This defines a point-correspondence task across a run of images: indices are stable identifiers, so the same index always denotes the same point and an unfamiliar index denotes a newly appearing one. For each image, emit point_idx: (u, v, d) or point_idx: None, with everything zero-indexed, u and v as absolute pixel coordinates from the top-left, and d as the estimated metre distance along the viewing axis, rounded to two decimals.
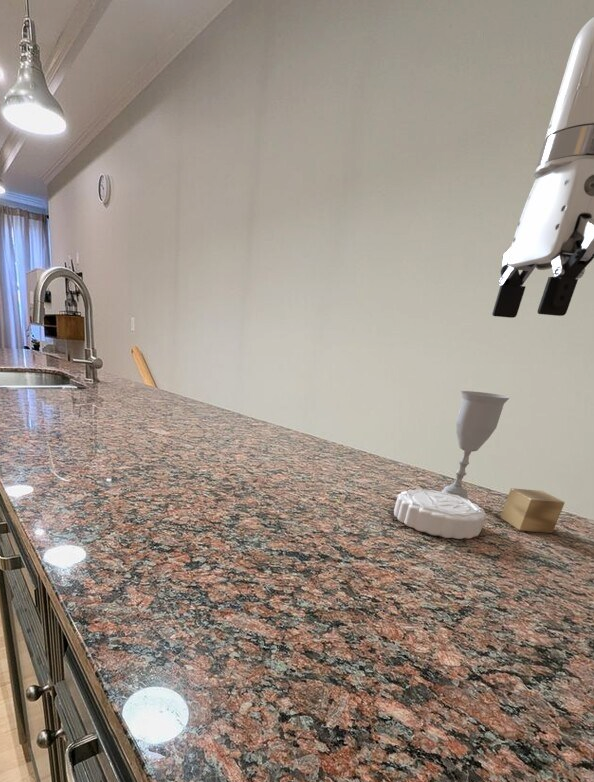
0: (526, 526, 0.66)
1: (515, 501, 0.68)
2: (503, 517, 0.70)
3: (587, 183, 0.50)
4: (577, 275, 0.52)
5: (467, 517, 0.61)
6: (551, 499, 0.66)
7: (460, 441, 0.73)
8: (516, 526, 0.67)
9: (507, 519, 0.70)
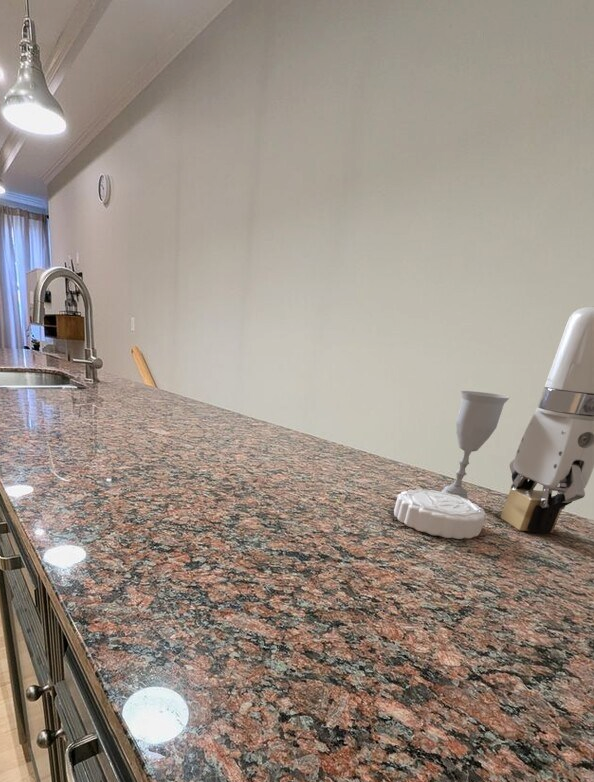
0: (526, 526, 0.66)
1: (515, 501, 0.68)
2: (503, 517, 0.70)
3: (580, 436, 0.60)
4: (558, 509, 0.64)
5: (467, 517, 0.61)
6: None
7: (460, 441, 0.73)
8: (516, 526, 0.67)
9: (507, 519, 0.70)
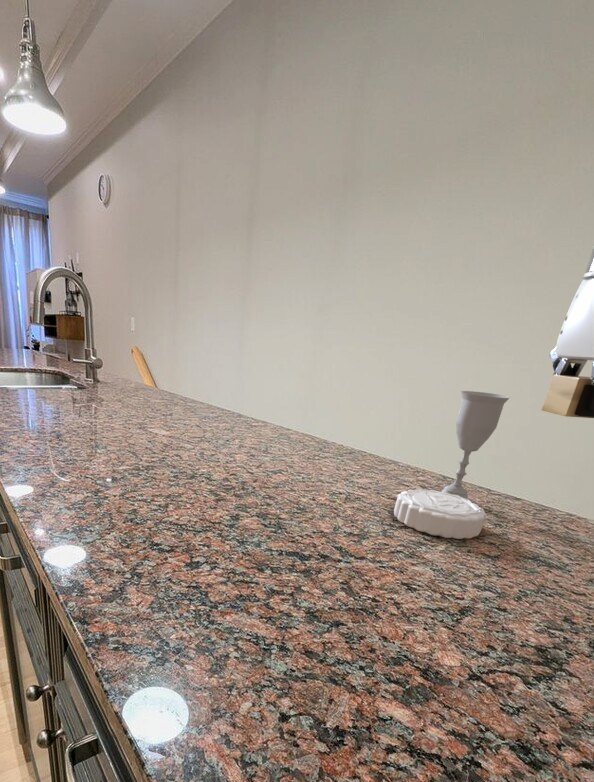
0: (573, 411, 0.60)
1: (559, 386, 0.62)
2: (545, 408, 0.64)
3: None
4: None
5: (467, 517, 0.61)
6: None
7: (460, 441, 0.73)
8: (561, 413, 0.61)
9: (549, 409, 0.63)
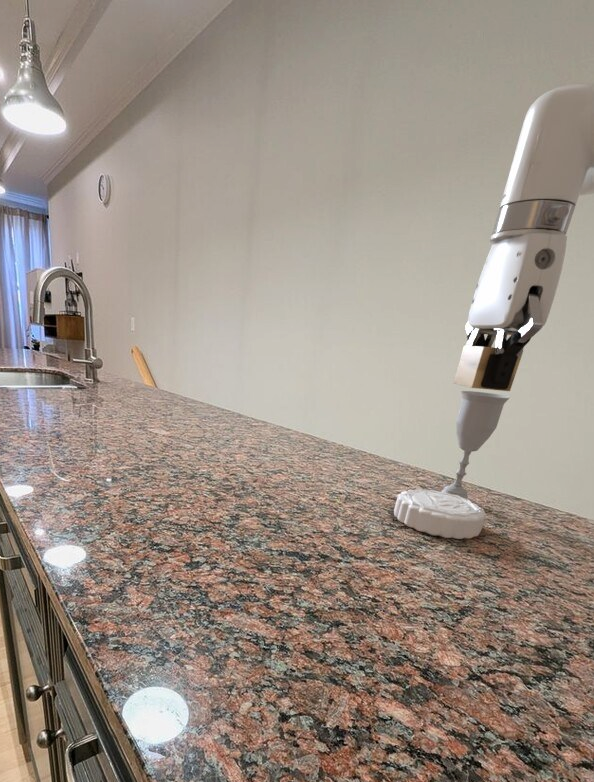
0: (479, 383, 0.57)
1: (468, 357, 0.59)
2: (456, 381, 0.61)
3: (538, 256, 0.50)
4: (514, 355, 0.54)
5: (467, 517, 0.61)
6: None
7: (460, 441, 0.73)
8: (468, 384, 0.58)
9: (459, 382, 0.60)
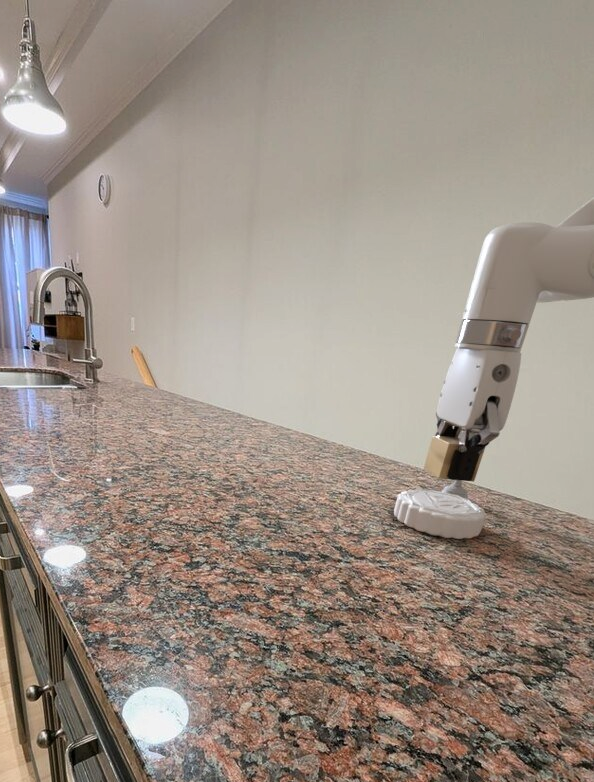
0: (445, 474, 0.62)
1: (436, 448, 0.63)
2: (426, 467, 0.66)
3: (496, 369, 0.55)
4: (477, 453, 0.59)
5: (467, 517, 0.61)
6: None
7: None
8: (436, 474, 0.63)
9: (429, 469, 0.65)
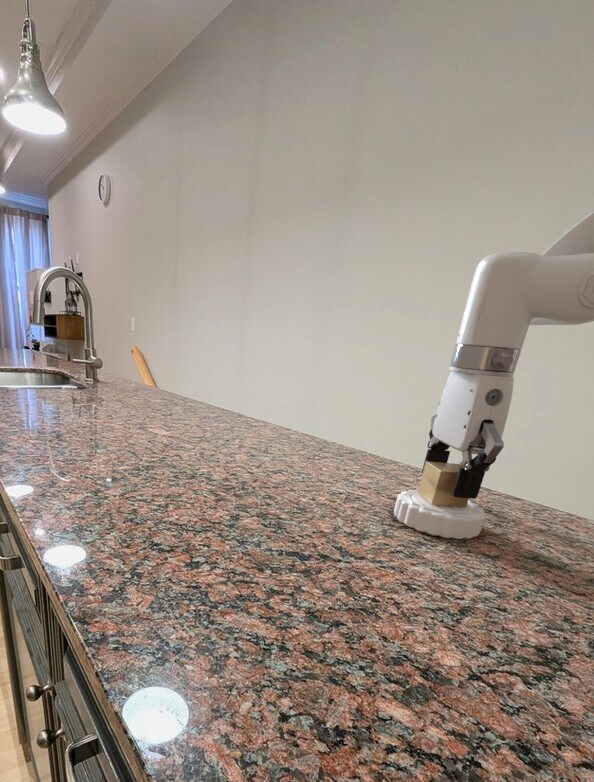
0: (438, 500, 0.63)
1: (429, 474, 0.65)
2: (419, 492, 0.67)
3: (489, 393, 0.56)
4: (483, 470, 0.58)
5: (467, 517, 0.61)
6: None
7: None
8: (429, 500, 0.64)
9: (422, 494, 0.66)
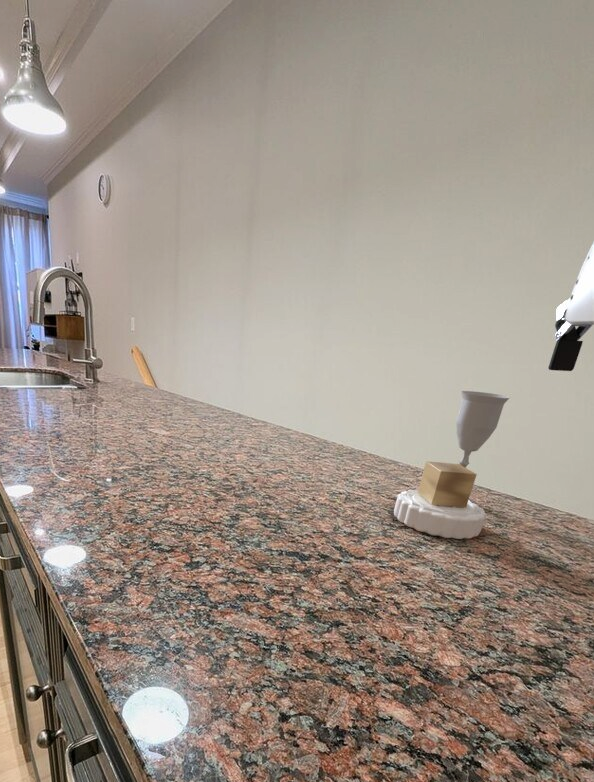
0: (438, 500, 0.63)
1: (429, 474, 0.65)
2: (419, 492, 0.67)
3: None
4: None
5: (467, 517, 0.61)
6: (463, 471, 0.62)
7: (460, 441, 0.73)
8: (429, 500, 0.64)
9: (422, 494, 0.66)
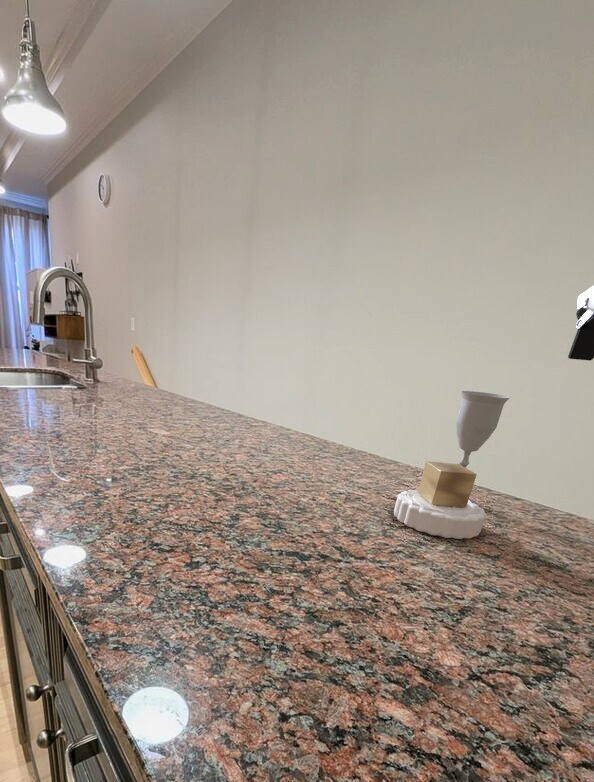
0: (438, 500, 0.63)
1: (429, 474, 0.65)
2: (419, 492, 0.67)
3: None
4: None
5: (467, 517, 0.61)
6: (463, 471, 0.62)
7: (460, 441, 0.73)
8: (429, 500, 0.64)
9: (422, 494, 0.66)
